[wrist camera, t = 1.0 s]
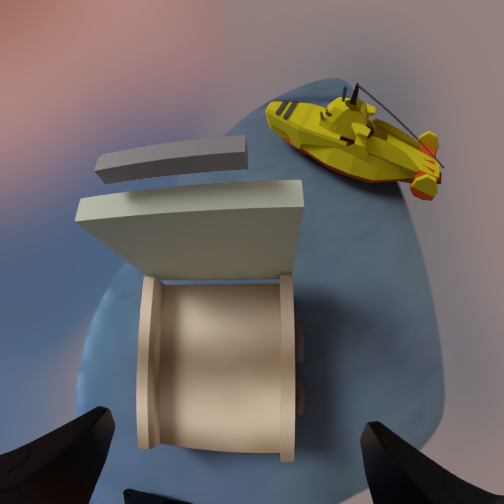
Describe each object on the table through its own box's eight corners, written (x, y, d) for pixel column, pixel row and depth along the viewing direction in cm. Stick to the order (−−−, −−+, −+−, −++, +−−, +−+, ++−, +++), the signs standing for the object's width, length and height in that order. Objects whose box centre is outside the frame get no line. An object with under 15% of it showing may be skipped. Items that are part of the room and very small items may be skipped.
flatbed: (300, 440, 18) (307, 461, 13) (164, 433, 19) (138, 447, 14) (298, 293, 22) (305, 274, 18) (168, 294, 23) (144, 276, 18)
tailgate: (290, 278, 20) (308, 178, 9) (154, 280, 20) (51, 202, 9) (289, 251, 20) (302, 133, 9) (157, 254, 21) (65, 163, 10)
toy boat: (423, 222, 24) (473, 159, 15) (256, 159, 28) (248, 78, 19) (428, 176, 26) (466, 113, 17) (280, 121, 30) (278, 47, 21)
